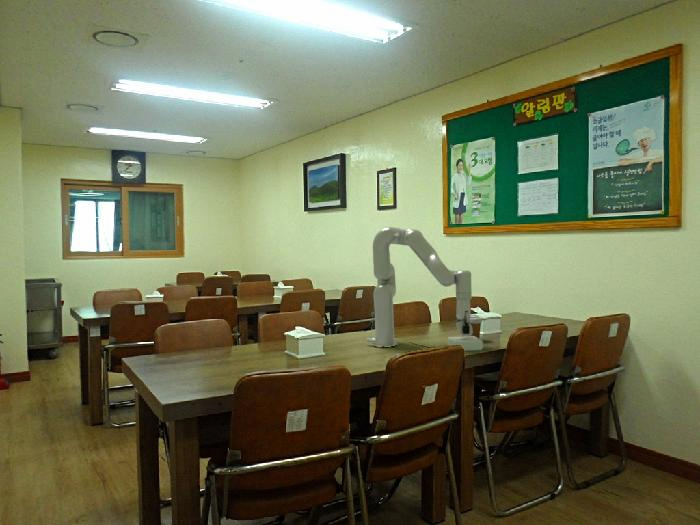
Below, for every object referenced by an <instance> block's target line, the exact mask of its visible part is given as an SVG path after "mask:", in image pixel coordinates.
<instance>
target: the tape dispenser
mask: <svg viewBox="0 0 700 525" xmlns="http://www.w3.org/2000/svg"><path fill="white" fill-rule="evenodd" d="M455 326H456V329H457V331H458V332H459V334H461V337H465V336H467V337H468V336H471V335H472V333H473V331H472V329H473V328H472V326H471V324H470V325H469V326H470V334H463V319H462V320H460V319H458V318H456V322H455Z"/></svg>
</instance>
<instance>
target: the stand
mask: <svg viewBox="0 0 700 525" xmlns="http://www.w3.org/2000/svg"><path fill="white" fill-rule="evenodd" d="M446 338H447V339H446V342H447V343H446V344H447V346H448V345H461V346H463V347H464V348H465V350H464V351H483V350H484V341H483V340H482V339H480V338H479V339H478V338H477V337H475V336H468V337H467V336H465V337H462V336H448V337H446ZM482 349H483V350H482Z"/></svg>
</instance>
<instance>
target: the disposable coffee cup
mask: <svg viewBox="0 0 700 525" xmlns="http://www.w3.org/2000/svg"><path fill="white" fill-rule="evenodd" d="M469 324H471V326H472V328H473V329H472V331H473V333H472V335H471V336H475V337H477V338H478V339H480V336H481V326H482V318H481V317H476V316H471V318H470V320H469Z"/></svg>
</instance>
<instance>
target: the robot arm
mask: <svg viewBox="0 0 700 525" xmlns="http://www.w3.org/2000/svg"><path fill="white" fill-rule="evenodd" d="M391 245H400V246H407V247H409V248H410V249H411V251H412V252H413V253H414V254H415V255H416V257H418V259H419V260H420V261H421V262H422V264H423V265H424V266H425V267H426V268H427V270H428V271H429V272H430V274H431V275H432V276H433V277H434V279H436V281H437V282H438V283H439V284H440V285H441V286H443V287H451V286H453V285H455V300H456V311H455V312H456V314H455V315H456V319H460V320H462V319H463V334H470V326H469V325H470V324H469V320H470V318H471V317H472V315H471V311H472V310H471V300H472V299H473V298H472V295H473V294H472V292H473V291H472V272H471V271H470V270H451V269H449V268H448V267H447V266H446V264H444V262H443V261H442V260H441V258H440V257H439V254H438V252H437V251H436V249H435V248H434V247H433V246H432V245H431V244H430V242H428V240H427V239H426V238H425V237H424V235H423V232H421V231H420V230H419V229H408V228H400V227H392V226H388V227H387V226H386V227H384V228H383V229H381V230H380V231H379V232H378V233H376V234H375V236H374V238H373V242H372V262H373V264H372V265H373V276H374V278H376V280H377V285H376V286H375V287H374V289H373V293H372V294H373V297H372V298H373V303H374V304H373V306H374V328H375V329H374V336H372V337H366V339H365V341H366V342H367V343H372V344H374V345H378V346H393V345H397V346H398V342H397V341H395V320H394V316H395V315H394V313H395V312H394V297H395V295H396V294H397V293H396V292H397V287H396V286H397V285H396V284H397V282H396V273H395V272H396V270H395V267H394V265H393V264H392V263H391V254H390V246H391Z"/></svg>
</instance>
